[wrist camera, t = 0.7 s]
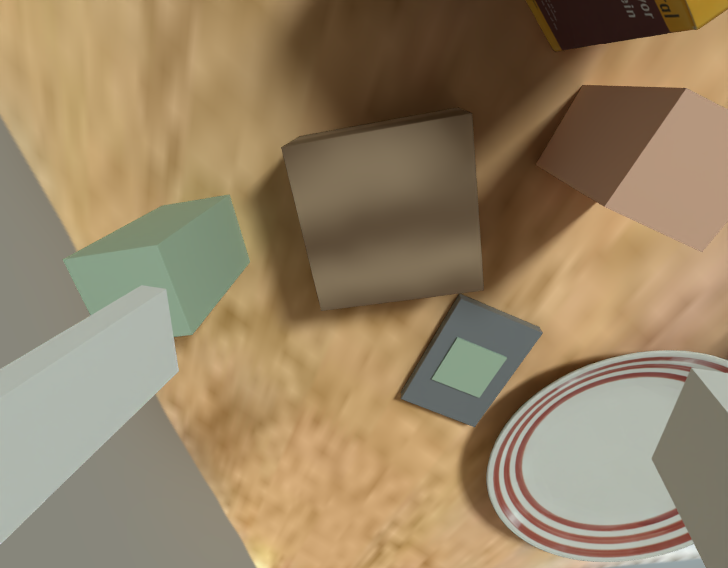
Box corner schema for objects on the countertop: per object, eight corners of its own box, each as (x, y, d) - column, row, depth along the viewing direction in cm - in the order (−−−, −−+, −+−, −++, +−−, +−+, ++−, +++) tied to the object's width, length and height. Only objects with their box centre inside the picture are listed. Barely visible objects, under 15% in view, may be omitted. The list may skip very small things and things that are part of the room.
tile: (459, 293, 38) (461, 299, 37) (539, 327, 39) (543, 334, 38) (400, 392, 43) (401, 400, 42) (472, 419, 44) (474, 428, 43)
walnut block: (299, 136, 33) (281, 147, 28) (458, 107, 32) (472, 113, 26) (331, 277, 38) (321, 310, 33) (470, 259, 37) (483, 290, 31)
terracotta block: (582, 84, 30) (686, 88, 20) (654, 121, 31) (793, 143, 20) (535, 164, 33) (604, 206, 22) (602, 196, 34) (701, 252, 23)
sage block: (161, 205, 36) (62, 259, 25) (229, 194, 35) (157, 244, 25) (186, 271, 39) (105, 345, 28) (250, 261, 38) (192, 334, 27)
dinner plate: (771, 298, 37) (805, 318, 34) (763, 513, 47) (788, 542, 44) (452, 374, 42) (456, 397, 39) (509, 552, 52) (516, 580, 49)
